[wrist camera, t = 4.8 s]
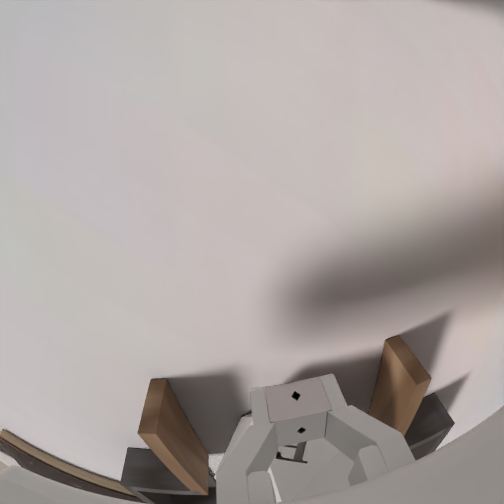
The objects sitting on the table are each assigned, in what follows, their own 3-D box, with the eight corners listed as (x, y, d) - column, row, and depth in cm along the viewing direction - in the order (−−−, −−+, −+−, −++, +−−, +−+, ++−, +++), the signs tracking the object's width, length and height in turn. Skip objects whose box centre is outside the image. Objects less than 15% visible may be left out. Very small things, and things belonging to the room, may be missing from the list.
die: (367, 384, 17) (402, 440, 8) (338, 477, 16) (341, 557, 6) (256, 369, 19) (206, 412, 10) (239, 461, 18) (191, 531, 8)
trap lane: (464, 311, 15) (498, 342, 11) (385, 476, 26) (393, 496, 22) (73, 378, 14) (52, 421, 10) (197, 509, 25) (197, 531, 21)
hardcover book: (1, 424, 18) (-4, 435, 16) (160, 488, 22) (159, 503, 20) (33, 467, 23) (29, 476, 21) (156, 511, 28) (155, 522, 25)
